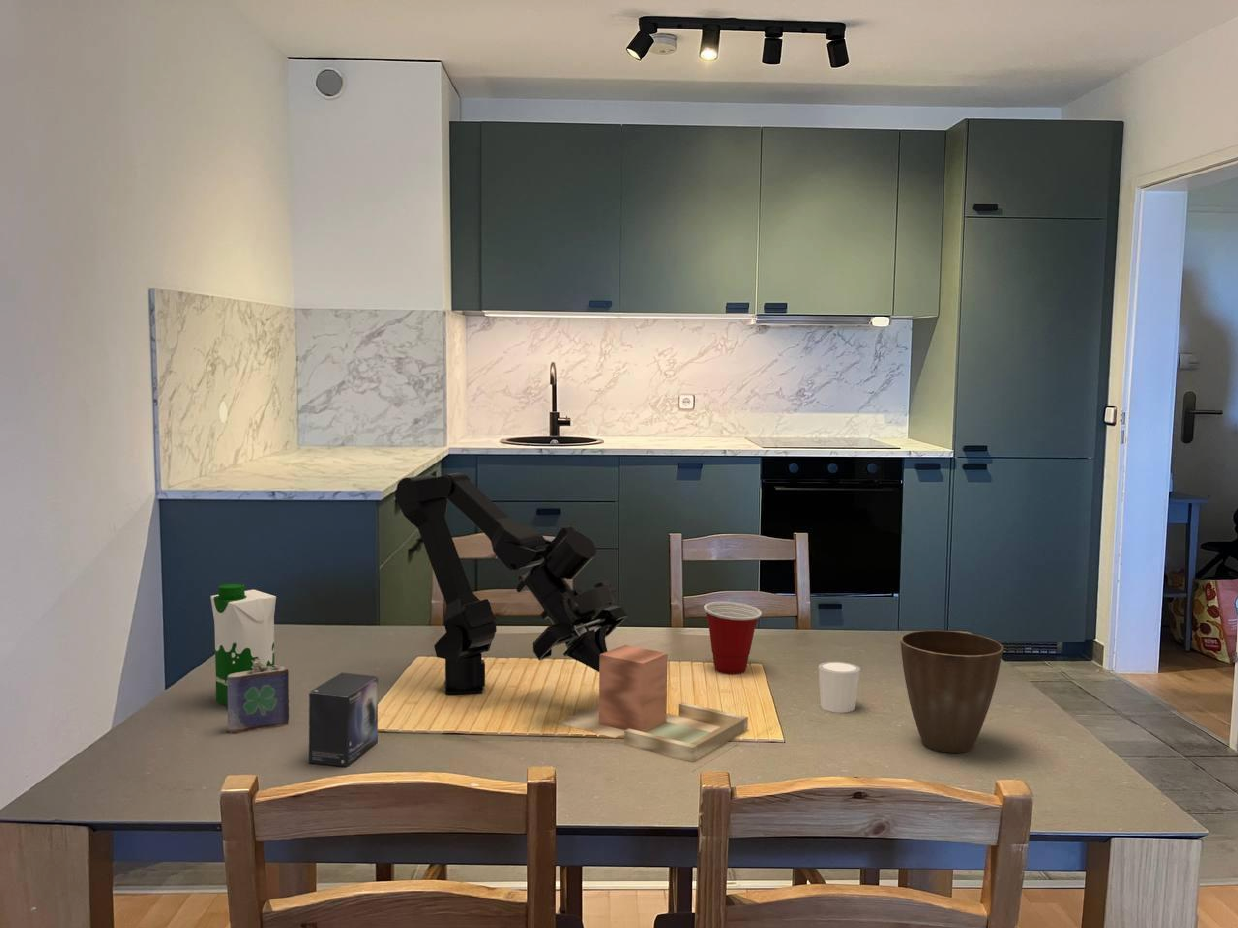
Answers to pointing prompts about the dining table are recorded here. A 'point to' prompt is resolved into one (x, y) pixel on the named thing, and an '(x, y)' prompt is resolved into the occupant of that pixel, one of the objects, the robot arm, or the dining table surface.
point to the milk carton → (241, 632)
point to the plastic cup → (731, 634)
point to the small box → (343, 719)
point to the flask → (258, 698)
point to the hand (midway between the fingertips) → (610, 674)
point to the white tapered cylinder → (838, 686)
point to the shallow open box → (672, 731)
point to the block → (633, 688)
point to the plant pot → (950, 685)
